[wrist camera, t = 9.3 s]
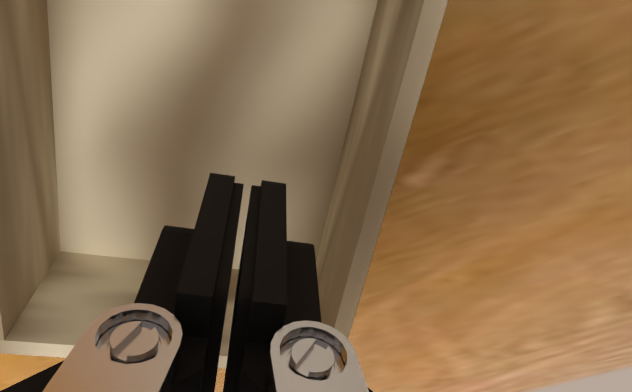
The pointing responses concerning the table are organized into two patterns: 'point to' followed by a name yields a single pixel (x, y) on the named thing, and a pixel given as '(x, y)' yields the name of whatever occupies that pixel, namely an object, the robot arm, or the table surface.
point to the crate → (193, 141)
